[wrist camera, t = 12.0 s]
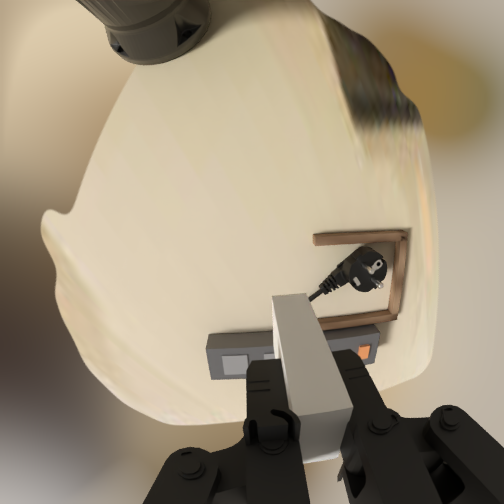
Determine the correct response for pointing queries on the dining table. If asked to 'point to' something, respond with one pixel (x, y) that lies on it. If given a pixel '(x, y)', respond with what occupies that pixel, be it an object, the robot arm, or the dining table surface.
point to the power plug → (356, 272)
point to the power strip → (261, 347)
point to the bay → (397, 275)
